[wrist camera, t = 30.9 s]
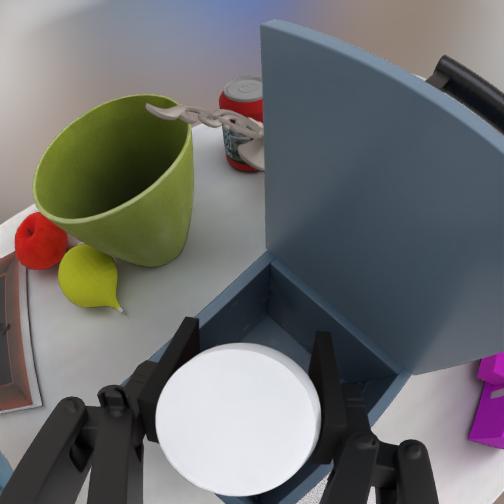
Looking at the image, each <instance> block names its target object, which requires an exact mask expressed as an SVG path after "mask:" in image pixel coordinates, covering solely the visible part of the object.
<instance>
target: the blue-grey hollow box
mask: <svg viewBox="0 0 504 504" xmlns="http://www.w3.org/2000/svg"><path fill="white" fill-rule="evenodd" d="M195 318H199V333H200V353H202V352H203V351H205V350H208V349H210V348H213V347H216V346H220V345H224V344H230V343H252V344H259V345H263V346H266V347H269V348H272V349H274V350H277V351H279V352H281V353H283V354H284V355H286V356H288V357H289V358H290V359H292V360H293V361H294V362H295V363H297V364H298V365H299V366H300V367H301V368H302V369H303V370H304V372H305V373H306V374H307V375H308V369H309V364H310V360H311V355H312V350H313V345H314V340H315V335H316V331H326V332H331V337H332V342H333V347H334V352H335V357H336V363H337V368H338V373H339V379H340V383H343V384H356V385H357V386H358V387H359V388H360V390H361V391H362V394H363V398H364V402H365V407H366V411H367V415H368V419H369V424H370V428H371V427H372V426H373V425H374V424H375V422H376V421H377V420H378V419H379V417H380V416H381V415H382V414H383V412H384V411H385V410H386V409H387V407H388V406H389V405H390V403H391V402H392V401H393V400H394V398H395V397H396V396H397V394H398V393H399V392H400V390H401V389H402V387H403V386H404V385H405V383H406V382H407V380H408V379H409V378H410V376H411V375H412V374H411V373H410V372H409V371H408V370H407V369H405V368H404V367H403V366H402V365H401V364H400V363H399V362H397V361H396V360H395V359H394V358H393V357H392V356H391V355H389V354H388V353H387V352H386V351H385V350H384V349H383V348H381V347H380V346H379V345H378V344H377V343H376V342H375V341H373V340H372V339H371V338H370V337H369V336H368V335H366V334H365V333H364V332H363V331H362V330H361V329H360V328H358V327H357V326H356V325H355V324H354V323H353V322H351V321H350V320H349V319H348V318H347V317H346V316H345V315H343V314H342V313H341V312H340V311H339V310H338V309H336V308H335V307H334V306H333V305H332V304H331V303H329V302H328V301H327V300H326V299H325V298H324V297H322V296H321V295H320V294H319V293H318V292H317V291H315V290H314V289H313V288H312V287H311V286H310V285H308V284H307V283H306V282H305V281H304V280H303V279H301V278H300V277H299V276H298V275H297V274H296V273H294V272H293V271H292V270H291V269H290V268H289V267H287V266H286V265H285V264H284V263H283V262H281V261H280V260H279V259H278V258H277V257H276V256H274V255H273V254H272V253H271V252H270V251H268V250H267V251H266V252H265V253H264V254H263V255H262V256H261V257H259V258H258V259H257V260H256V261H255V262H254V263H253V264H252V265H251V266H250V267H249V268H248V269H247V270H245V271H244V272H243V273H242V274H241V275H240V276H239V277H238V278H237V279H236V280H235V281H234V282H233V283H231V284H230V285H229V286H228V287H227V288H226V289H225V290H224V291H223V292H222V293H221V294H220V295H218V296H217V297H216V298H215V299H214V300H213V301H212V302H211V303H210V304H209V305H208V306H207V307H205V308H204V309H203V310H202V311H201V312H200V313H199V314H198V315H197V316H196V317H195ZM171 340H172V339H171ZM171 340H170V341H168V342H167V343H166V344H165V345H164V346H163V347H162V348H161V349H160V350H159V351H157V352H156V353H155V354H154V355H153V356H152V357H151V358H150V359H149V360H148V361H152V362H157V363H158V362H159V360H160V358H161V357H162V355H163V353H164V352H165V350H166V348H167V347H168V345H169V343H170V342H171ZM133 374H134V373H133ZM131 376H132V375H131ZM131 376H130V377H131ZM130 377H129V378H128V379H127V380H126V381H124V382H123V383H122V384H121V385H120V386H122V387H125V385H126V383H127V382H128V380H130ZM308 377H309V375H308ZM333 467H334V463H333V459H332V462H331V464H330V465H313V464H312V454H311V456H310V457H309V459H308V460H307V461H306V463H305V464H304V465H303V466H302V467H301V468H300V469H299V470H298V471H297V472H296V473H295V474H294V475H293V476H292V477H291V478H289V479H288V480H287V481H285V482H284V483H282V484H281V485H279V486H277V487H275V488H273V489H271V490H269V491H266V492H263V493H260V494H255V495H250V496H226V495H220V494H216V493H214V494H215V495H216V496H217V497H219V498H220V499H221V500H222V501H223V502H225V503H226V504H295V503H297V502H298V501H299V500H300V499H301V498H302V497H304V496H305V495H306V494H307V493H308V492H309V491H310V490H311V489H313V488H314V487H315V486H316V485H317V484H318V483H319V482H320V481H321V480H322V479H323V478H324V477H325V476H326V475H327V474H328V473H329V472H330V471H331V470H332V469H333Z"/></svg>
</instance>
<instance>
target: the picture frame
mask: <svg viewBox="0 0 504 504" xmlns="http://www.w3.org/2000/svg"><path fill="white" fill-rule="evenodd" d="M38 406H42V402H41V397H40V393H39V388H38V383H37V378H36V373H35V367H34V361H33V355H32V348H31V340H30V331H29V321H28V308H27V290H26V267H25V266H23V265H22V264H21V263H20V262H19V260H18V258H17V256H16V251H14V252H12V253H11V254H9V255H7V256H5V257H3V258H1V259H0V413H6V412H12V411H17V410H23V409H28V408H33V407H38Z"/></svg>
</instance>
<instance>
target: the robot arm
mask: <svg viewBox="0 0 504 504" xmlns="http://www.w3.org/2000/svg"><path fill="white" fill-rule="evenodd" d="M198 354H200V333H199V318H193V317H185V318H184V320H183V322H182V323H181V325H180V327H179V328H178V330H177V332H176V333H175V335H174V337H173V338H172V340H171V342H170V343H169V345H168V347H167V348H166V350H165V352H164V353H163V355H162V357H161V358H160V360H159V362H158V363H157V362H152V361H148V360H146V361H144V362H143V363H141V364H140V365H138V367H137V368H136V370H135V371H134V374H132V376H131V377H130V380H128V382H127V383H126V385H125V387H122V386H119V385H108V386H106V387H103V388H102V389H101V390H100V391H99V392H98V394H97V396H98V399H99V402H100V404H101V406H100V407H96V406H85V404H84V402H83V401H82V400H81V399H80V398H78V397H66V398H64V399H62V400H61V401H60V402H59V403H58V404H57V406H56V407H55V409H54V410H53V412H52V413H51V414H50V416H49V417H48V419H47V420H46V422H45V423H44V425H43V426H42V428H41V429H40V431H39V433H38V434H37V436H36V437H35V439H34V440H33V442H32V443H31V445H30V447H29V448H28V450H27V451H26V453H25V454H24V456H23V458H22V459H21V461H20V463H19V464H18V466H17V467H16V469H15V471H14V472H13V470H12V468H11V466H10V464H9V462H8V460H7V459H6V458H5V456H4V455H3V453H2V452H1V451H0V504H75V501H76V499H77V497H78V494H79V492H80V490H81V488H82V485H83V483H84V481H85V479H86V477H87V474H88V472H89V470H90V468H91V474H90V482H89V490H88V498H87V504H143V455H144V445H143V441H142V440H143V438H144V436H145V434H146V436H147V439H148V441H152V442H156V443H159V440H158V436H157V432H156V409H157V404H158V401H159V398H160V395H161V393H162V391H163V388H164V387H165V385H166V383H167V382H168V380H169V379H170V378H171V377H172V375H173V374H174V373H175V372H176V371H177V370H178V369H179V368H180V367H182V366H183V365H184V364H185V363H187V362H188V361H190V360H191V359H192V358H194V357H195V356H196V355H198ZM308 375H309V378H310V380H311V381H312V383H313V385H314V387H315V389H316V391H317V394H318V397H319V401H320V406H321V416H322V421H321V430H320V435H319V439H318V442H317V444H316V447H315V449H314V451H313V452H312V464H313V465H330V464H331V462H332V459H333V463H334V467H333V469H332V471H331V473H330V475H329V477H328V479H327V480H328V482H327V485H326V487H325V490H324V493H323V495H322V498H321V501H320V503H319V504H367V500H368V496H369V492H370V488H371V486H374V487H375V494H376V504H439V502H438V496H437V491H436V486H435V482H434V477H433V472H432V468H431V464H430V459H429V455H428V451H427V449H426V447H425V445H424V444H423V443H421V442H420V441H417V440H412V439H409V440H405V441H403V442H402V443H400V445H399V446H398V445H393V444H388V443H384V442H381V441H380V440H379V439H378V438H377V436H376V435H375V434H373V433H372V431H371V428H370V424H369V419H368V415H367V411H366V407H365V402H364V398H363V394H362V391H361V390H360V388H359V387H358V386H357V385H356V384H343V383H340V379H339V373H338V368H337V363H336V357H335V352H334V347H333V342H332V337H331V332H326V331H316V335H315V340H314V345H313V350H312V355H311V360H310V364H309V369H308ZM159 444H160V443H159ZM91 466H92V467H91Z"/></svg>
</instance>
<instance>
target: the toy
mask: <svg viewBox="0 0 504 504" xmlns="http://www.w3.org/2000/svg"><path fill="white" fill-rule="evenodd" d="M477 378H479V379H481V380H483V381H485V385H484V389H483V393H482V396H481V400H480V404H479V407H478V411H477V414H476V417H475V420H474V423H473V426H472V429H471V432H470V435H469V438H468V439H469V440H472V441H475V442H479V443H482V444H485V445H489V446H493V447H496V448H500V449H504V352H501V353H498V354H495V355H492V356H489V357H485V358H482V359H481V363H480V367H479V372H478V376H477Z"/></svg>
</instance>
